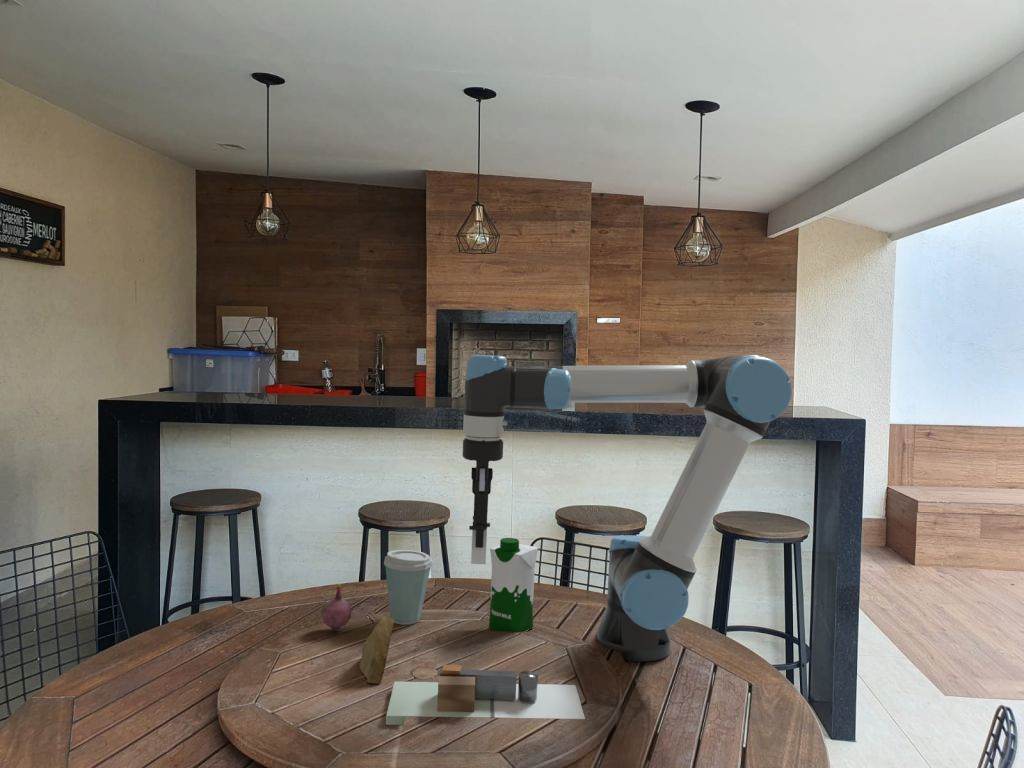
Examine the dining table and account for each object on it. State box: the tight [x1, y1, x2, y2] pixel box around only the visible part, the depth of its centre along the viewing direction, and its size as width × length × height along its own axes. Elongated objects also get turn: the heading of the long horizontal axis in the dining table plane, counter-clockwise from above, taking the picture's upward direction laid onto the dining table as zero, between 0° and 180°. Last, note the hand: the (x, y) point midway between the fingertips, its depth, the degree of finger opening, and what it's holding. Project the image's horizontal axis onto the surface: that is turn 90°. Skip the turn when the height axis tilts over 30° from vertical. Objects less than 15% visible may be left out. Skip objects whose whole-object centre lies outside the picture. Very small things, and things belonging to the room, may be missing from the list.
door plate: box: [385, 681, 586, 726], centre depth 125 cm, size 32×12×2 cm, turn 93°
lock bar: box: [438, 664, 539, 702], centre depth 125 cm, size 17×3×5 cm, turn 89°
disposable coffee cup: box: [383, 549, 433, 626], centre depth 163 cm, size 11×11×15 cm
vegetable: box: [320, 582, 353, 631], centre depth 155 cm, size 6×6×10 cm
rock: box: [358, 614, 394, 684], centre depth 137 cm, size 11×9×10 cm
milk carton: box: [488, 537, 539, 633], centre depth 160 cm, size 9×9×20 cm
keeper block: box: [437, 675, 475, 712], centre depth 122 cm, size 6×3×4 cm, turn 93°
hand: (478, 562), depth 139 cm, fingers closed
